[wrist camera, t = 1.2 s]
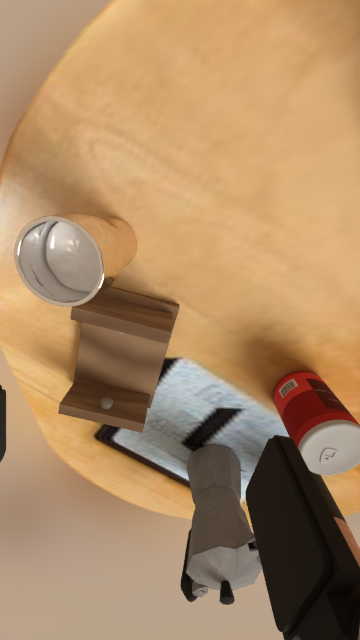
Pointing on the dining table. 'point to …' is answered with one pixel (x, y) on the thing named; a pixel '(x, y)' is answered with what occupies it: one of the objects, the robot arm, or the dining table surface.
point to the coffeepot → (218, 528)
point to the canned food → (318, 423)
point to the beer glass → (73, 256)
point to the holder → (119, 357)
